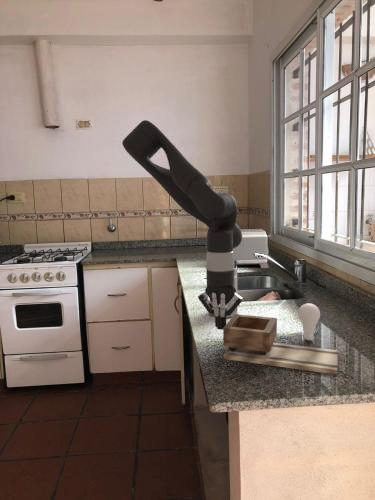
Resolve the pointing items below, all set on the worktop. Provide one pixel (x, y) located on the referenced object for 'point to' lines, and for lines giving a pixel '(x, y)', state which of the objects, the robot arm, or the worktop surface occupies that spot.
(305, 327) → the lightbulb
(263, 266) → the toaster
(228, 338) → the open wooden crate
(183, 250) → the worktop surface
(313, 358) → the track
